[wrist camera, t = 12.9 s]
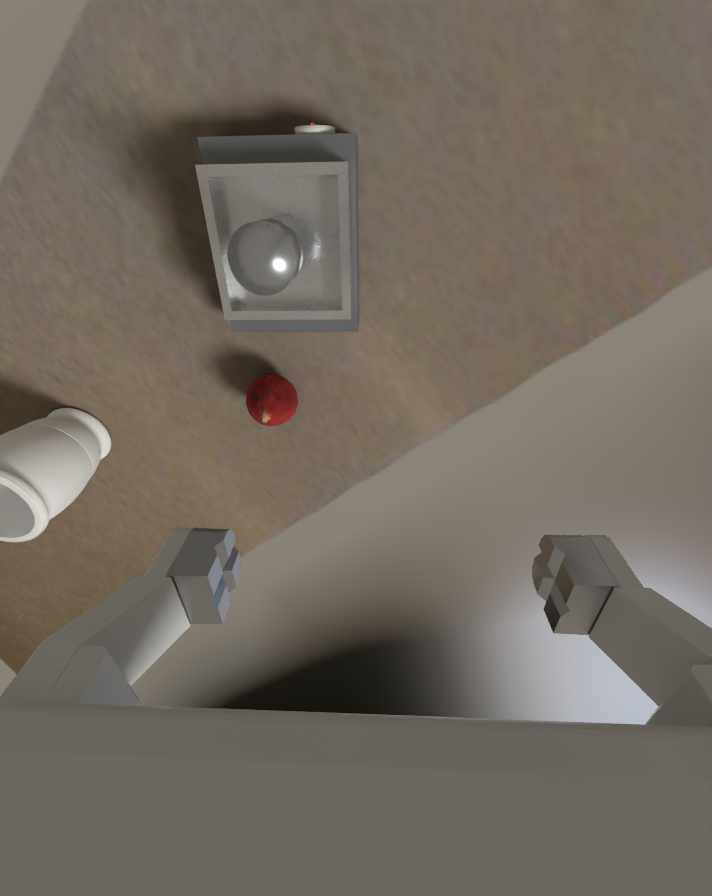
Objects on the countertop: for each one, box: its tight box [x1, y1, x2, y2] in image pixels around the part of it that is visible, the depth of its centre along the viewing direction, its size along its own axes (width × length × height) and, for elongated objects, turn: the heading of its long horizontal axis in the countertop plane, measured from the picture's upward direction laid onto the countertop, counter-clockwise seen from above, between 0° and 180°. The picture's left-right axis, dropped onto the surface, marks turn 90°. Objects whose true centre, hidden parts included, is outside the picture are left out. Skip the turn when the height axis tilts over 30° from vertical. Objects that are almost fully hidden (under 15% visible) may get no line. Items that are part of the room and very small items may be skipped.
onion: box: [246, 374, 298, 426], centre depth 45 cm, size 6×6×8 cm
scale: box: [197, 123, 359, 332], centre depth 38 cm, size 13×17×4 cm
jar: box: [0, 408, 111, 542], centre depth 48 cm, size 11×10×15 cm
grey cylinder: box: [227, 215, 312, 296], centre depth 32 cm, size 5×5×9 cm
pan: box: [195, 161, 353, 320], centre depth 35 cm, size 12×12×3 cm
